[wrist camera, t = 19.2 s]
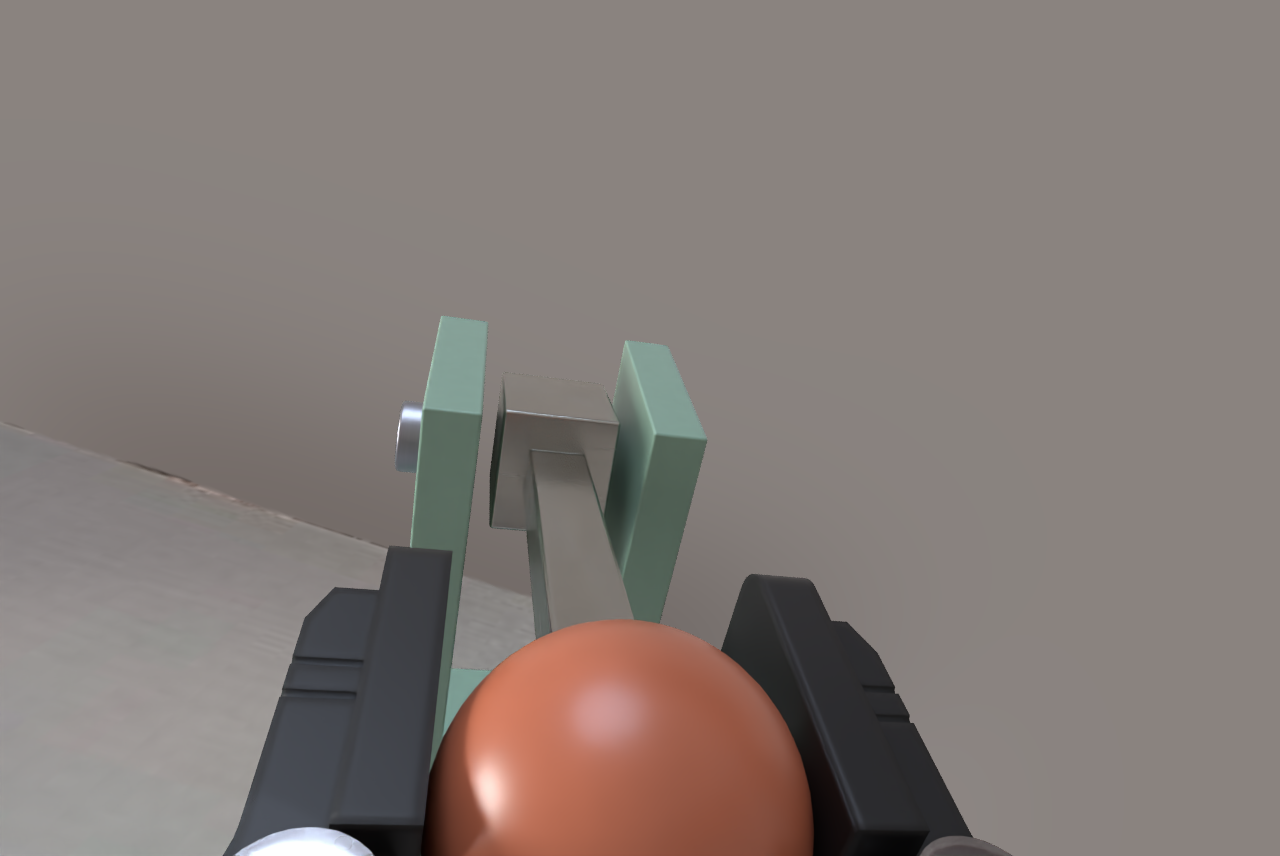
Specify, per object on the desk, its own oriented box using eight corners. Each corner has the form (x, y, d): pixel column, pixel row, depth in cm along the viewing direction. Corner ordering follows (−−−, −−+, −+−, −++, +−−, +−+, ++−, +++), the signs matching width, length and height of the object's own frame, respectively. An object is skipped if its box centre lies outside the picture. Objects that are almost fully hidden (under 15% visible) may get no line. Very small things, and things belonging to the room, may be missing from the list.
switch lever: (822, 1151, 7) (937, 804, 6) (380, 1183, 6) (424, 795, 5) (613, 510, 19) (639, 360, 18) (454, 497, 19) (472, 339, 18)
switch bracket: (636, 1037, 19) (809, 535, 13) (308, 1051, 17) (327, 492, 11) (597, 702, 28) (688, 308, 22) (376, 693, 26) (407, 267, 20)
